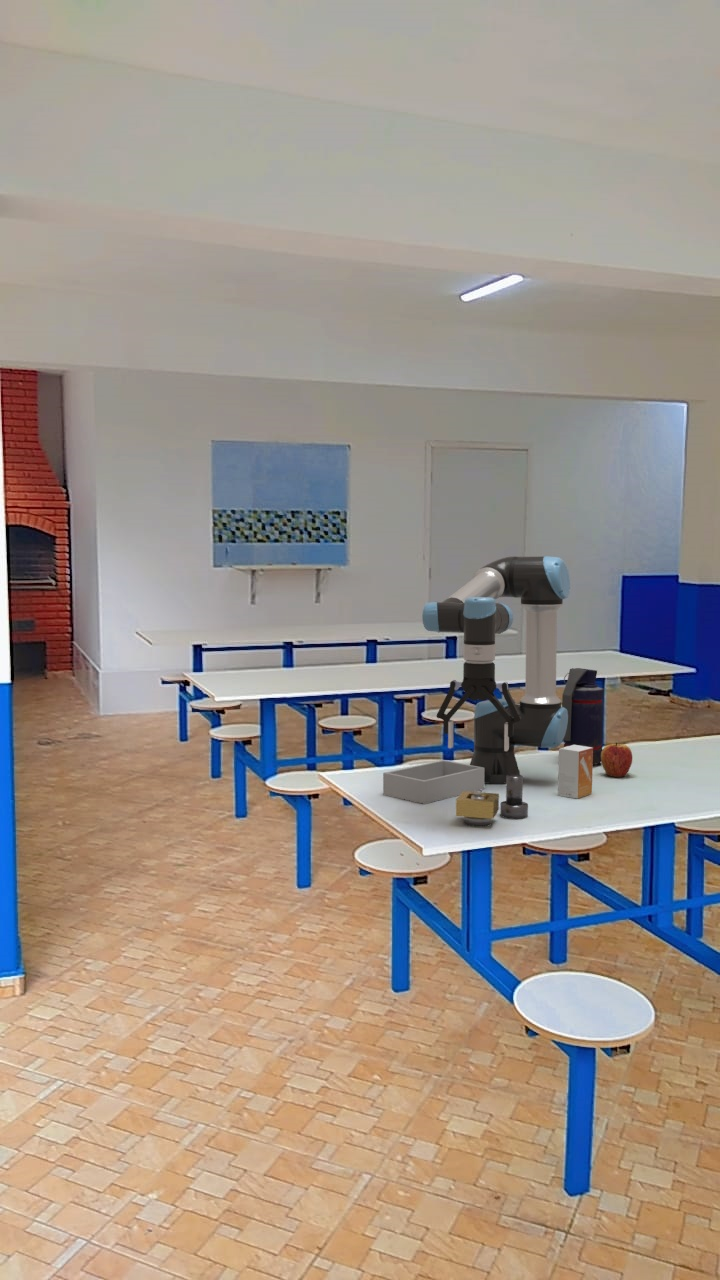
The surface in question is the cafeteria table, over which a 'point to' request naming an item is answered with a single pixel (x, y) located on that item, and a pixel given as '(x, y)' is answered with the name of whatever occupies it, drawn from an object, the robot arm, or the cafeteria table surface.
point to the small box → (575, 771)
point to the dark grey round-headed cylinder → (514, 799)
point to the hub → (473, 820)
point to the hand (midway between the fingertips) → (478, 748)
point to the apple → (616, 759)
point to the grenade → (584, 711)
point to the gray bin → (433, 781)
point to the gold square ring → (477, 805)
